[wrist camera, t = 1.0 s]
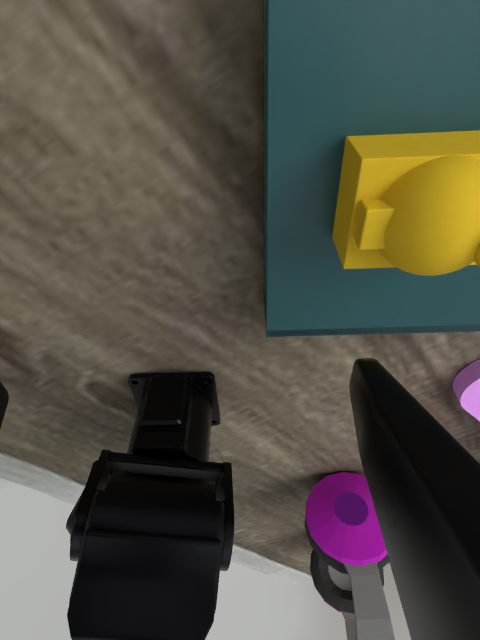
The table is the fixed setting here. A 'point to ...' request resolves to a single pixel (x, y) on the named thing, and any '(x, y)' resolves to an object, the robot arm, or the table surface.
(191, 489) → the robot arm
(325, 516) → the headphones
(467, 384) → the bracket
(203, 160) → the table surface
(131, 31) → the table surface
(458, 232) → the rubber duck
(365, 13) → the book
